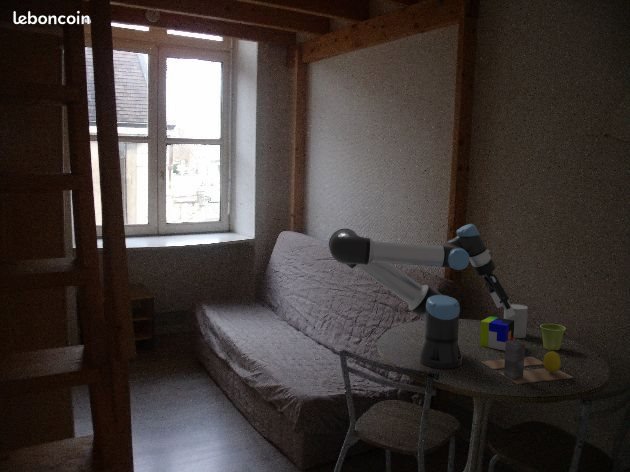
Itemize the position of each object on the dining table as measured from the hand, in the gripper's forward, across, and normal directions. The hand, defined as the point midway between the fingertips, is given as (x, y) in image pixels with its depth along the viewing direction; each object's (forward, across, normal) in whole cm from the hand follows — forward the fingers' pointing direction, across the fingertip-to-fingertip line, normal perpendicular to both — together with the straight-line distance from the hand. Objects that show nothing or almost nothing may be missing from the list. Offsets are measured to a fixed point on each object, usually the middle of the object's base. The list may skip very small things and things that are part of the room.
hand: (506, 311), depth 223 cm
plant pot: (+24, +4, -10) cm, 26 cm away
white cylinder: (+20, +23, -2) cm, 30 cm away
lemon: (+18, -25, 0) cm, 31 cm away
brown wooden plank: (+13, -15, +8) cm, 21 cm away
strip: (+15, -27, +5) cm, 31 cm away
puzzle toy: (+14, +8, +8) cm, 18 cm away
